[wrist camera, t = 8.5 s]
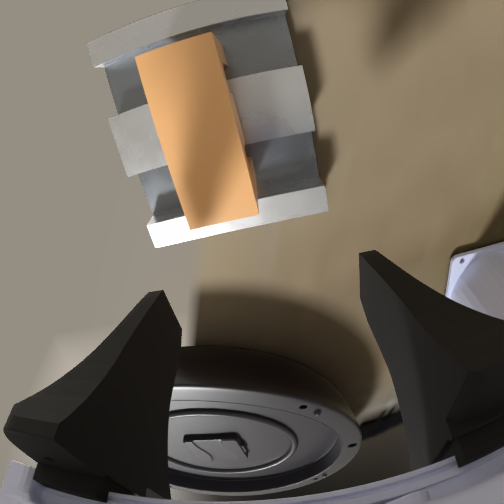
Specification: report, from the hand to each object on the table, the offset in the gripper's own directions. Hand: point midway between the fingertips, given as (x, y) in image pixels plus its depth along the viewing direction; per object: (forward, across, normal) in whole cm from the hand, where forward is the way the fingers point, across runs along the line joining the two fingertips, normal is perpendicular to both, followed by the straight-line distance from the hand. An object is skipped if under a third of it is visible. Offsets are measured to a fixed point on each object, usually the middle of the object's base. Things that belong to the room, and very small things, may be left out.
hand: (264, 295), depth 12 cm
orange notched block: (+8, +1, -6) cm, 10 cm away
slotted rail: (+9, +1, -6) cm, 11 cm away
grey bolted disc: (+10, +10, +25) cm, 28 cm away
